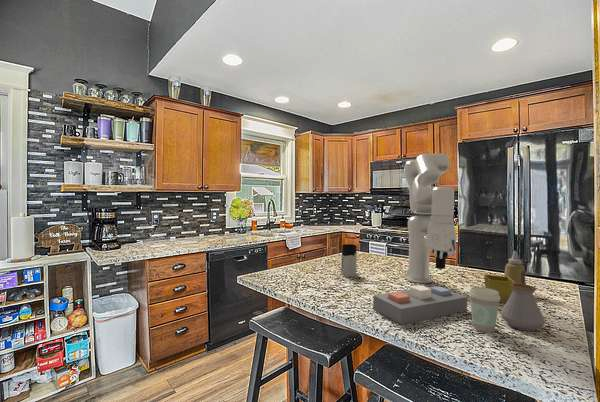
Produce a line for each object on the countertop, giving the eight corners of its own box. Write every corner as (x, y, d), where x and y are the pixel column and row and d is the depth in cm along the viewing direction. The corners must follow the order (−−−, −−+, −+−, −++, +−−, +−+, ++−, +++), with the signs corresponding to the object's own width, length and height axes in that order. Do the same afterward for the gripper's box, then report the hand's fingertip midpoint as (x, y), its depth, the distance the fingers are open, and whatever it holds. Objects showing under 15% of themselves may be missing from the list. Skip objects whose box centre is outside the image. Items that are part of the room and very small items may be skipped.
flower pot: (507, 298, 123) (508, 276, 123) (515, 305, 115) (515, 282, 114) (483, 295, 126) (483, 274, 126) (488, 302, 117) (489, 279, 117)
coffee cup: (462, 322, 98) (463, 286, 98) (486, 322, 98) (487, 286, 98) (479, 335, 89) (481, 295, 89) (506, 334, 90) (507, 294, 90)
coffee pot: (545, 337, 88) (547, 287, 88) (499, 326, 95) (500, 280, 95) (542, 315, 105) (543, 273, 105) (502, 307, 112) (504, 267, 112)
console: (373, 308, 108) (373, 295, 108) (435, 298, 121) (435, 286, 121) (400, 324, 96) (400, 308, 96) (466, 310, 108) (467, 297, 108)
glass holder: (358, 276, 153) (359, 246, 152) (330, 275, 153) (331, 246, 153) (355, 271, 161) (356, 244, 161) (329, 271, 162) (329, 243, 161)
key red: (388, 307, 106) (388, 293, 105) (399, 305, 108) (399, 291, 107) (398, 312, 101) (398, 297, 101) (409, 310, 103) (409, 296, 103)
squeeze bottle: (529, 296, 126) (530, 253, 126) (508, 294, 128) (509, 252, 127) (519, 290, 134) (520, 250, 134) (499, 288, 136) (500, 249, 135)
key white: (409, 300, 110) (410, 286, 109) (419, 298, 112) (420, 285, 112) (420, 304, 105) (420, 290, 105) (430, 303, 107) (431, 289, 107)
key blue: (429, 300, 114) (430, 287, 114) (439, 299, 116) (439, 286, 116) (440, 305, 109) (441, 291, 109) (450, 303, 111) (450, 290, 111)
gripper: (419, 218, 117) (417, 264, 118) (452, 222, 104) (450, 274, 104) (433, 217, 120) (431, 262, 121) (467, 221, 107) (465, 272, 107)
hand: (440, 268), depth 113 cm, fingers closed
